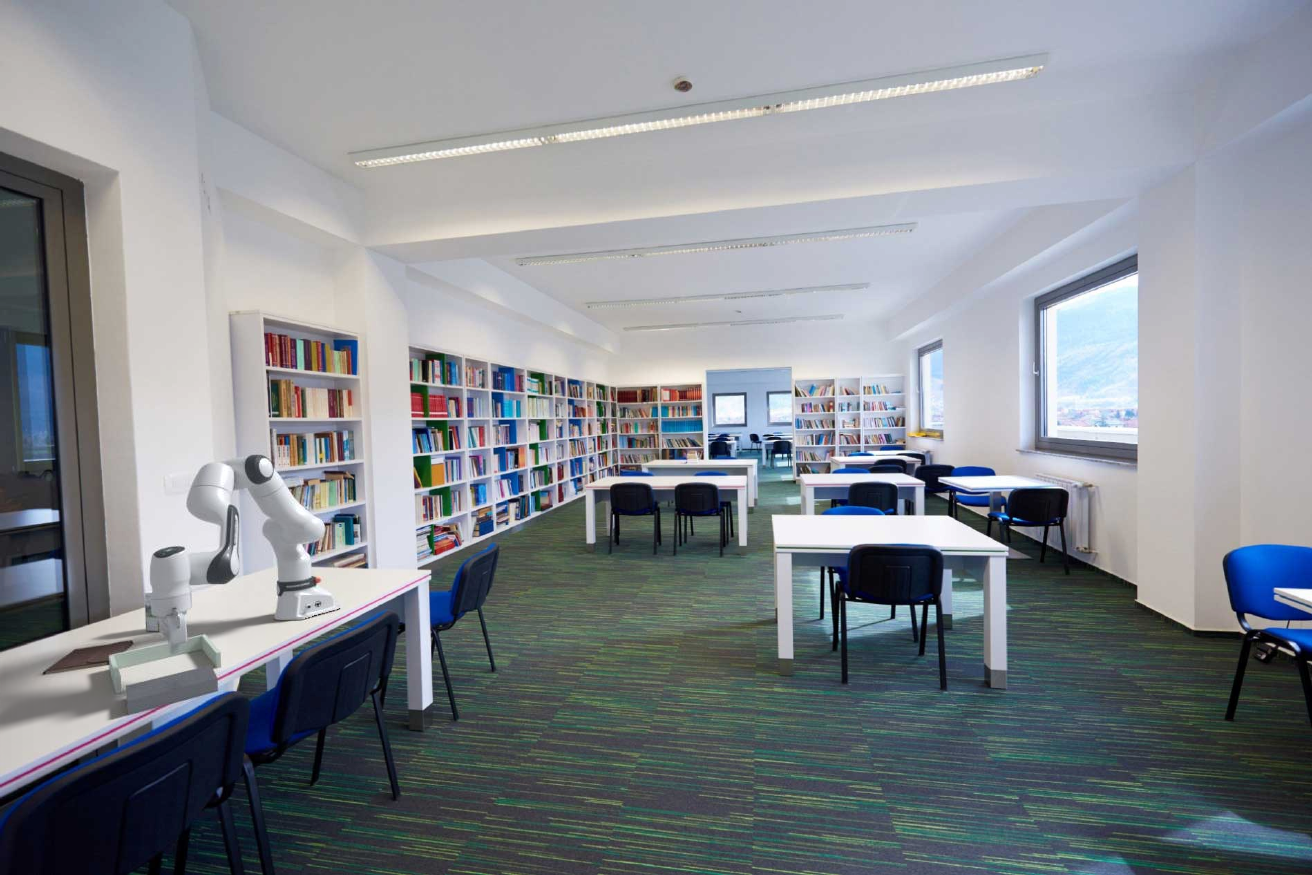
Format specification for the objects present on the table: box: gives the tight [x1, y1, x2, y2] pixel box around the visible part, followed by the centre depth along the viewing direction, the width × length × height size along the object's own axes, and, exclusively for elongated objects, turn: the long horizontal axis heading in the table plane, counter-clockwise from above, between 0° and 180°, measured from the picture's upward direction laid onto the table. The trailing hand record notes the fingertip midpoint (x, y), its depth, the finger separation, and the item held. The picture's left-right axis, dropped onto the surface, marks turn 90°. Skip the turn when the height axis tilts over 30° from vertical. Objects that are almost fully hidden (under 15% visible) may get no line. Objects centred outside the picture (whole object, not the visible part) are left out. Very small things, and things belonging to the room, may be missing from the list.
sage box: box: [108, 633, 222, 695], centre depth 171 cm, size 23×24×4 cm
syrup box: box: [144, 589, 161, 632], centre depth 207 cm, size 6×6×14 cm
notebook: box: [42, 639, 134, 676], centre depth 180 cm, size 15×20×2 cm
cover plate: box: [125, 664, 219, 716], centre depth 153 cm, size 18×13×4 cm
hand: (174, 652), depth 162 cm, fingers closed
